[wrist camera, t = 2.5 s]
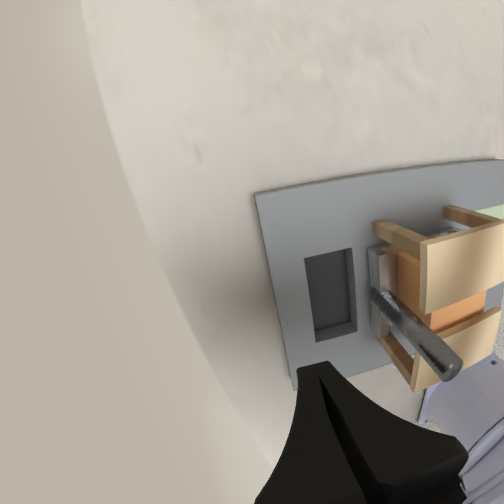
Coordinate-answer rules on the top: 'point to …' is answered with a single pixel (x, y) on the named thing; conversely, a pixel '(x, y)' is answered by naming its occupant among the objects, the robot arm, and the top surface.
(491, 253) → the wooden stool
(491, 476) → the robot arm
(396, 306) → the sled
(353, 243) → the deck
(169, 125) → the top surface
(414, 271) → the block
